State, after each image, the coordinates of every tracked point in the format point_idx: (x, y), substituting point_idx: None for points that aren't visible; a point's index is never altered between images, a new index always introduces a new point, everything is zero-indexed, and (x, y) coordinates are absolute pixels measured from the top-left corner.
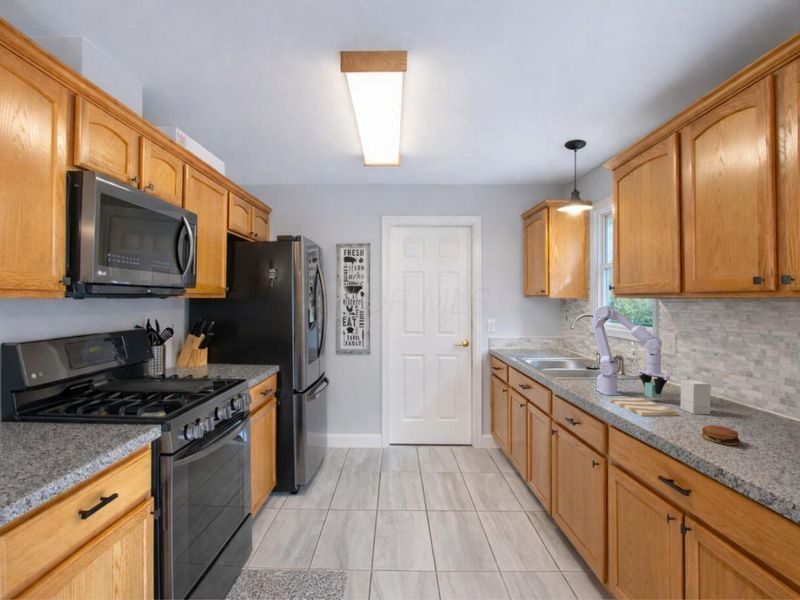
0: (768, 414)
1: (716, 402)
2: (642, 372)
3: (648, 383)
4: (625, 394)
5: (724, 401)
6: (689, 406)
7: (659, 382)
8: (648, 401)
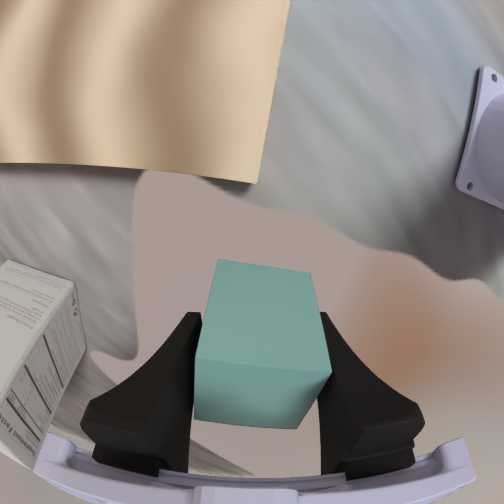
0: (84, 434)
1: (194, 451)
2: (399, 484)
3: (268, 368)
4: (451, 236)
5: (204, 464)
6: (5, 282)
7: (105, 399)
8: (149, 149)
